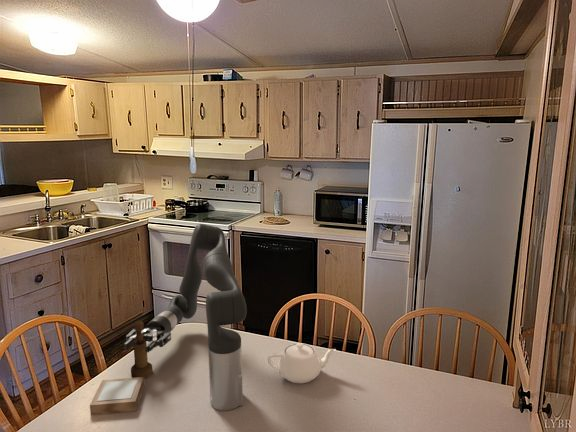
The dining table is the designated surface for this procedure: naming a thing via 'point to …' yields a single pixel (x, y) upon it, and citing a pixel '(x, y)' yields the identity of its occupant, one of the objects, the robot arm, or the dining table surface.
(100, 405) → the plinth
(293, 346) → the teapot
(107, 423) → the dining table surface
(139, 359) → the brown pepper mill
